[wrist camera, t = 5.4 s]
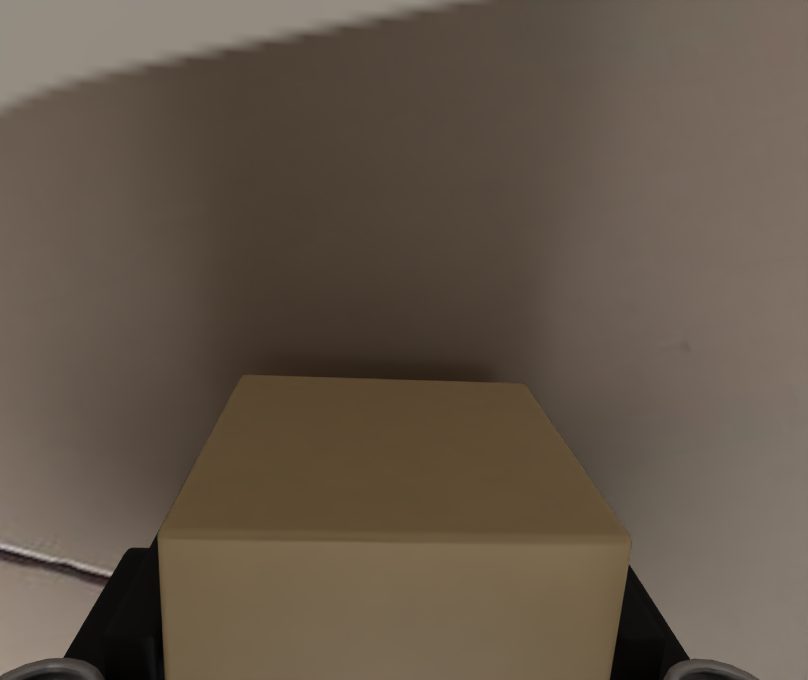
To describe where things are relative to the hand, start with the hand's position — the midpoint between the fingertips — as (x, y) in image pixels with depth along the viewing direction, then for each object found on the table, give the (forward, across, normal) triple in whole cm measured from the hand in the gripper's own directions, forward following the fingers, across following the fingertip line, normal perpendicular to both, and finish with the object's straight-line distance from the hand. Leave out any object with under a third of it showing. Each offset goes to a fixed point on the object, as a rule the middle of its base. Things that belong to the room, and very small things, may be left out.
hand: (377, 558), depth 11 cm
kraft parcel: (0, 0, 0) cm, 0 cm away
